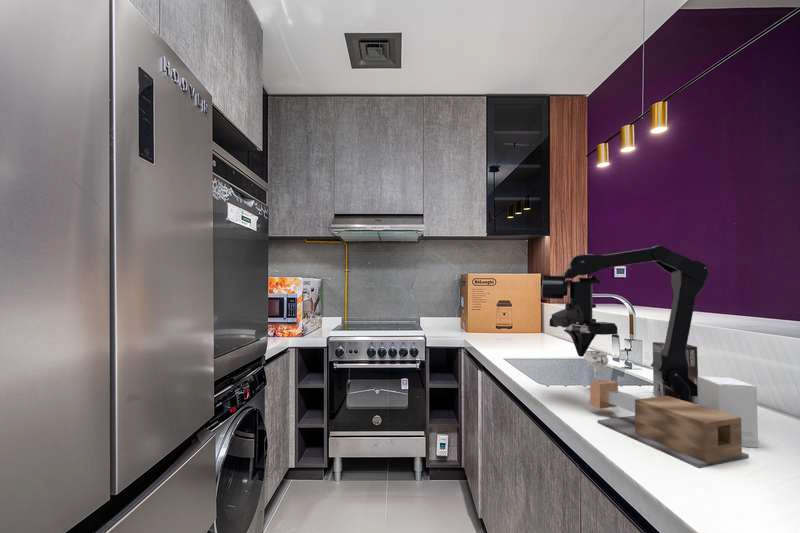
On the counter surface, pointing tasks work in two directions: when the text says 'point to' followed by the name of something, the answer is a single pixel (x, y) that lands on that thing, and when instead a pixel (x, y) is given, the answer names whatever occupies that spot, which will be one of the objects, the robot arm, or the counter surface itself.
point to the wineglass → (596, 361)
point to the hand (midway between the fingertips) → (580, 356)
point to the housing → (683, 430)
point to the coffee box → (692, 364)
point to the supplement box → (732, 403)
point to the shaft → (610, 395)
